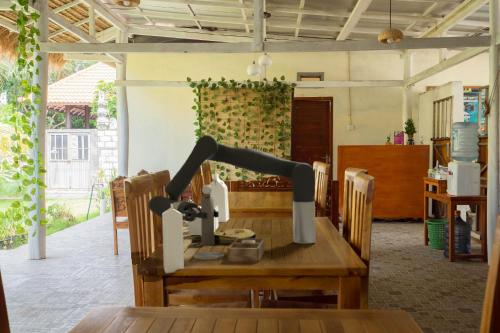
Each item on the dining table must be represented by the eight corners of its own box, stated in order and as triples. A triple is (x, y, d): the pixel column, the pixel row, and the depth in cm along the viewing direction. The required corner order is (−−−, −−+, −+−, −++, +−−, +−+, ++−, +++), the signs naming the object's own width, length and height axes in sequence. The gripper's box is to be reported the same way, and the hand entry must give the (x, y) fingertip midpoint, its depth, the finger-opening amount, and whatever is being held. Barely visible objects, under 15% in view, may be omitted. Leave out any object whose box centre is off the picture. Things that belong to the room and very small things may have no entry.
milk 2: (209, 218, 266) (208, 173, 265) (229, 218, 265) (228, 173, 264) (205, 222, 254) (204, 175, 253) (225, 222, 253) (224, 174, 252)
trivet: (226, 255, 173) (226, 252, 173) (220, 262, 162) (220, 259, 162) (198, 254, 175) (198, 252, 175) (190, 261, 164) (190, 259, 164)
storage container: (211, 235, 214) (211, 212, 214) (188, 236, 215) (187, 212, 214) (218, 226, 239) (218, 205, 239) (197, 227, 240) (197, 206, 239)
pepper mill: (215, 243, 170) (214, 184, 170) (212, 245, 166) (211, 185, 165) (203, 242, 171) (202, 184, 170) (200, 245, 167) (199, 185, 166)
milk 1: (165, 273, 149) (163, 205, 148) (163, 268, 155) (161, 203, 154) (184, 271, 151) (182, 204, 150) (181, 267, 157) (179, 202, 156)
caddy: (264, 252, 176) (264, 238, 176) (259, 264, 158) (258, 248, 158) (236, 252, 177) (236, 238, 177) (227, 264, 160) (227, 248, 159)
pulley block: (187, 227, 199) (253, 223, 208) (187, 240, 200) (252, 235, 209) (194, 238, 186) (264, 233, 195) (194, 252, 187) (263, 246, 196)
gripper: (168, 202, 173) (196, 206, 161) (198, 199, 183) (227, 202, 171) (169, 222, 174) (196, 228, 161) (199, 218, 184) (227, 223, 171)
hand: (212, 215), depth 166 cm, fingers closed on pepper mill, 4 cm apart
